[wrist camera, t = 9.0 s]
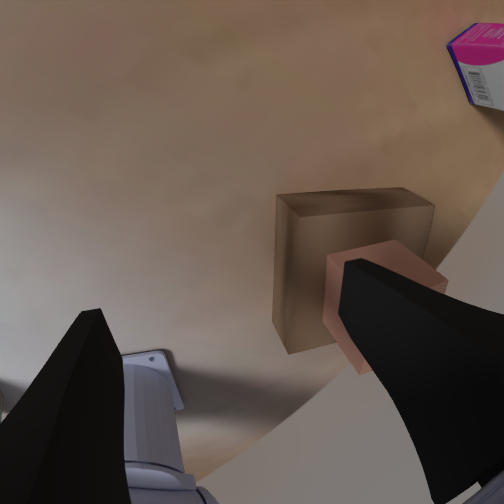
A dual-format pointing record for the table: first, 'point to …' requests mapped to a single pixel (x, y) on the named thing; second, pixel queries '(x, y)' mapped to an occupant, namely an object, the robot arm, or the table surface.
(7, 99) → the table surface
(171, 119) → the table surface
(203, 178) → the table surface
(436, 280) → the terracotta cube
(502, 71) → the supplement box
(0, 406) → the coffee cup
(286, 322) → the walnut block
